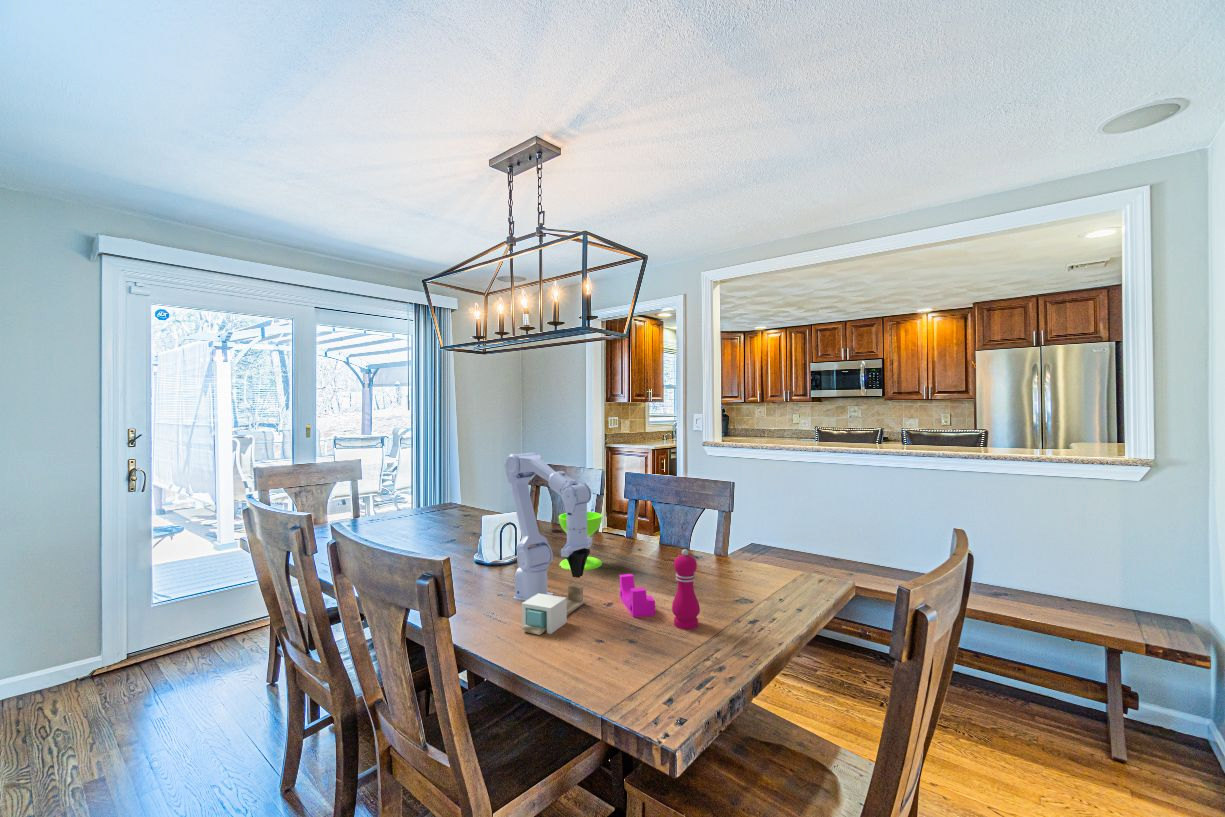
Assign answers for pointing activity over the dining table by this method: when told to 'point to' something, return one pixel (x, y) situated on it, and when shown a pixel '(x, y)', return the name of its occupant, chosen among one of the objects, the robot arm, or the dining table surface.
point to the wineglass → (592, 526)
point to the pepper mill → (685, 593)
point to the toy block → (635, 597)
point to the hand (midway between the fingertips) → (577, 576)
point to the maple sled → (572, 603)
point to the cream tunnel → (548, 603)
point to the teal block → (537, 618)
